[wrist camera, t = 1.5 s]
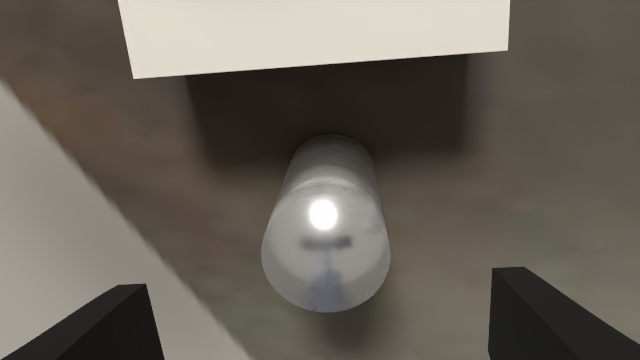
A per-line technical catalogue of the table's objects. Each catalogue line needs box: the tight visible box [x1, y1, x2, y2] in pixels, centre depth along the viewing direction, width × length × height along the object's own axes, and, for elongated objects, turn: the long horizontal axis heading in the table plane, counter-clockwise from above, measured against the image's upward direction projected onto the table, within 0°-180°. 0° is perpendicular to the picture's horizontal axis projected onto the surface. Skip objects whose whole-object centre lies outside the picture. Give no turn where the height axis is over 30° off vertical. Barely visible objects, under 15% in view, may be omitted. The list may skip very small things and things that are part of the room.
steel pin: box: [261, 134, 390, 312], centre depth 17 cm, size 4×4×7 cm
